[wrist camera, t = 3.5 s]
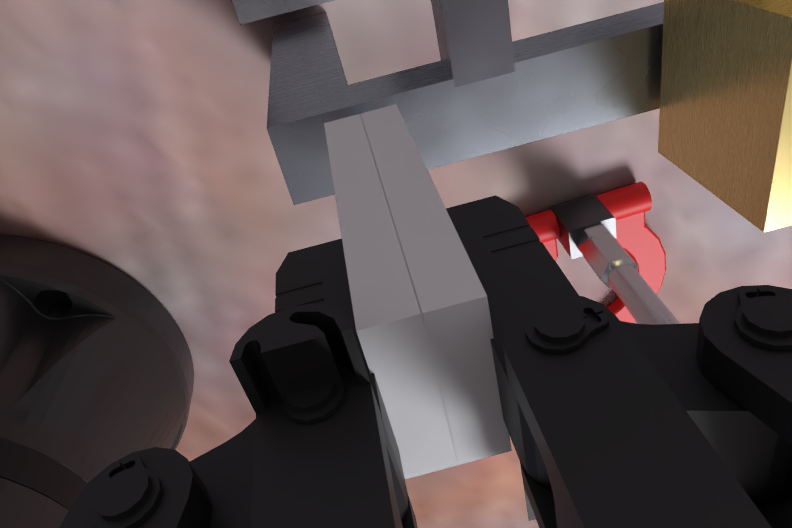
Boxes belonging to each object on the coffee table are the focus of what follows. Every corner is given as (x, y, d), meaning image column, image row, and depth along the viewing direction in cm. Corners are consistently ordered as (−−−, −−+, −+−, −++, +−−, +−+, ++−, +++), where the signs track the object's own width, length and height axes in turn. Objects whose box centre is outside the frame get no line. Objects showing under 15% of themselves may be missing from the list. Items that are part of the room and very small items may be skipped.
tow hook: (654, 310, 34) (655, 167, 28) (822, 524, 23) (877, 366, 18) (509, 354, 34) (482, 221, 28) (611, 586, 24) (600, 449, 18)
